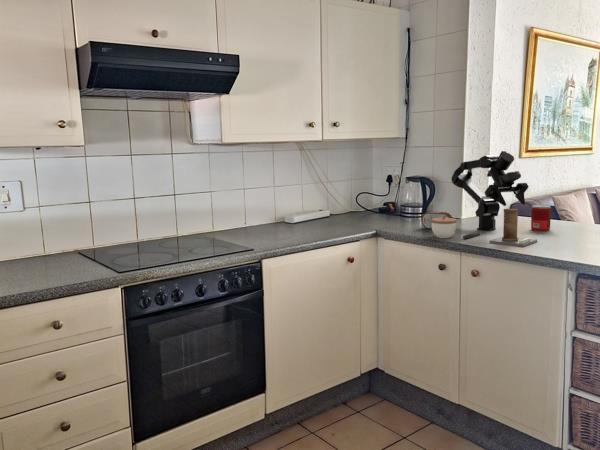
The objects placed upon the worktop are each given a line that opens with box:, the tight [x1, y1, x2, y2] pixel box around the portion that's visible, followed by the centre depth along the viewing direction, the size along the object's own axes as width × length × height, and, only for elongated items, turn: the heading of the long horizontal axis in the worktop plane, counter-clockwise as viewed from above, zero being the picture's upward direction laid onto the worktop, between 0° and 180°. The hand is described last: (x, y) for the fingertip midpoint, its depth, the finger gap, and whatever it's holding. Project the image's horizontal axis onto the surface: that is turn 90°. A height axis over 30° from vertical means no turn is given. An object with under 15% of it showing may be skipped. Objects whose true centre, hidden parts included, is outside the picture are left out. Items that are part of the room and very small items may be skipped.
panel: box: [489, 236, 538, 248], centre depth 217 cm, size 14×13×1 cm
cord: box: [462, 231, 481, 240], centre depth 231 cm, size 14×2×2 cm, turn 135°
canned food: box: [530, 204, 552, 232], centre depth 243 cm, size 8×8×11 cm
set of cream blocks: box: [519, 237, 532, 244], centre depth 212 cm, size 1×8×1 cm, turn 135°
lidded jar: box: [431, 216, 457, 239], centre depth 234 cm, size 11×11×9 cm
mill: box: [501, 208, 519, 242], centre depth 216 cm, size 6×6×12 cm
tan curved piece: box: [421, 210, 453, 230], centre depth 254 cm, size 15×3×8 cm, turn 54°
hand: (514, 204), depth 228 cm, fingers open, 9 cm apart
